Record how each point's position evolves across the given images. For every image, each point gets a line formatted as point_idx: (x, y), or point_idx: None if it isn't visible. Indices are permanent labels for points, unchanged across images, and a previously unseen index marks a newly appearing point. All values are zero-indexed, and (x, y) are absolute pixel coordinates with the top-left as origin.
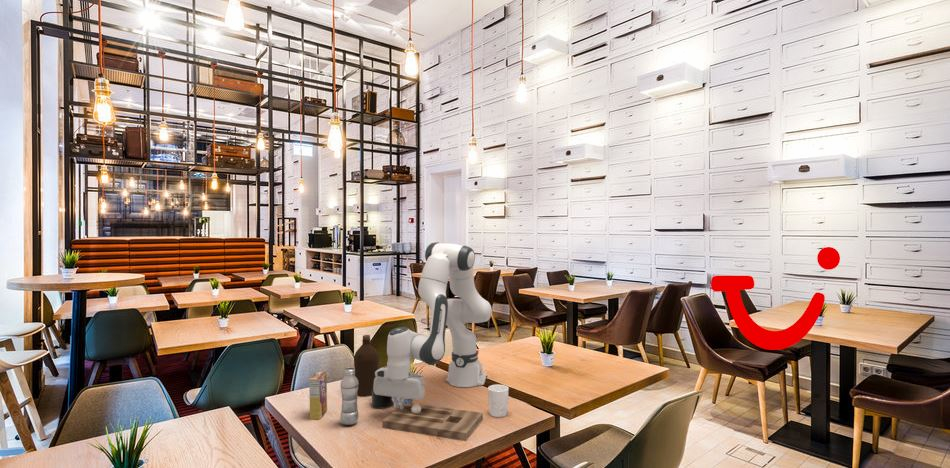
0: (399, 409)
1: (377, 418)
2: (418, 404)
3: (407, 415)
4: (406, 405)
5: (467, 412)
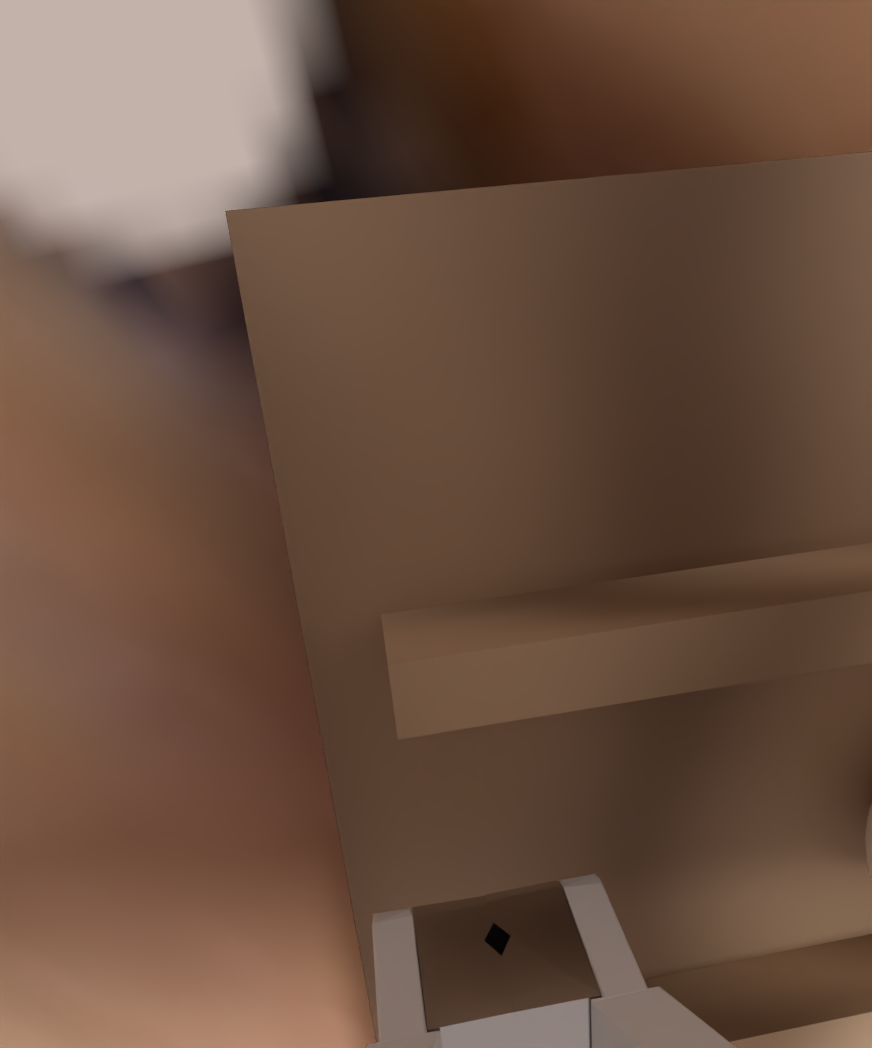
0: (396, 760)
1: (45, 932)
2: (752, 184)
3: (847, 1041)
4: (573, 687)
5: None
